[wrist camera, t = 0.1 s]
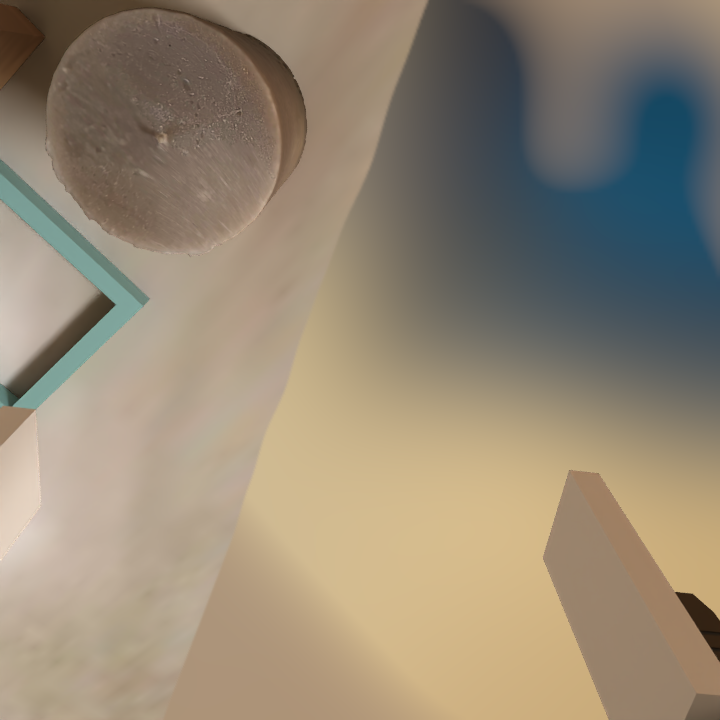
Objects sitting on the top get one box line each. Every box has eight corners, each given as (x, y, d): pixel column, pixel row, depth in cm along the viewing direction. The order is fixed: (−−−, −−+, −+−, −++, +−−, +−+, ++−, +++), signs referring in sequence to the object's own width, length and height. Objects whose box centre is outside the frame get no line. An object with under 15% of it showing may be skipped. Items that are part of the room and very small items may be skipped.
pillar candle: (269, 3, 37) (215, -45, 23) (330, 172, 41) (316, 218, 27) (113, 67, 38) (-25, 58, 25) (186, 226, 42) (101, 296, 28)
